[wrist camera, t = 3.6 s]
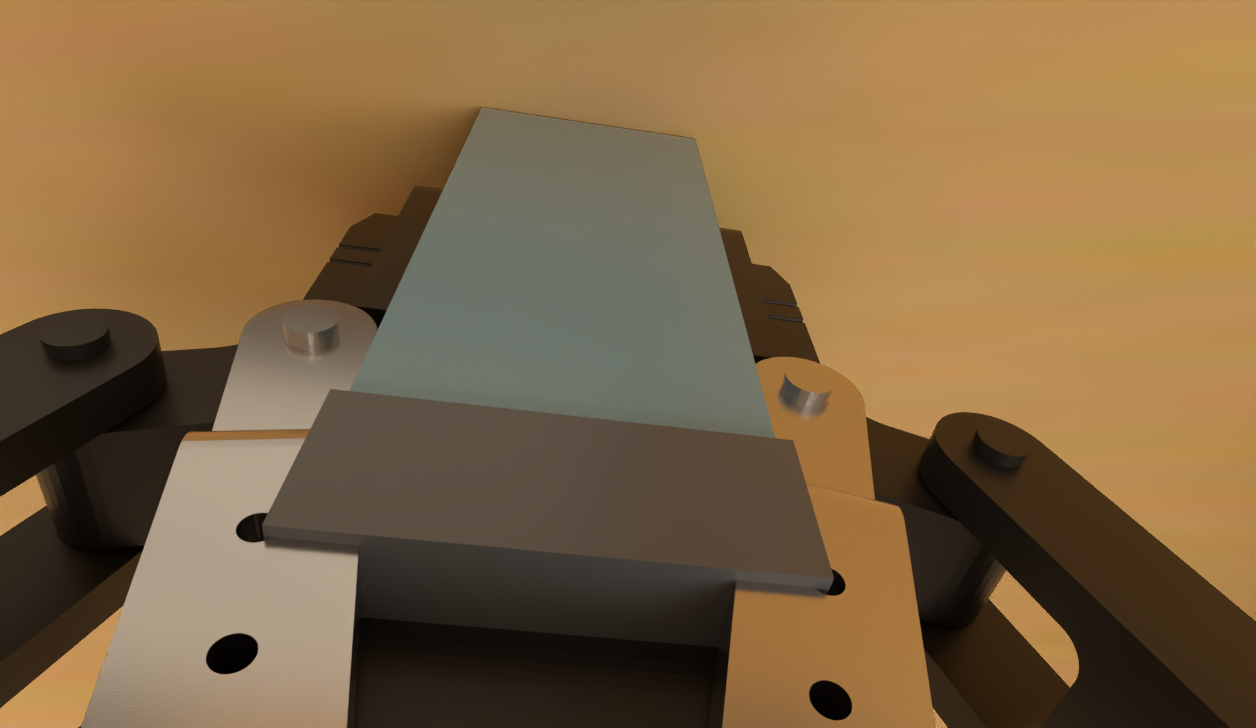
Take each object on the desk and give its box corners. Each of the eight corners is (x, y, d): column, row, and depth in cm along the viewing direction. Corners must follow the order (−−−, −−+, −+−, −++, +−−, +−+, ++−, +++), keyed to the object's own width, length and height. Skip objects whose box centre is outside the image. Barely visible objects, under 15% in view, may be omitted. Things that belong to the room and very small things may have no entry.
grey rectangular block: (702, 134, 13) (835, 579, 5) (662, 324, 15) (715, 844, 7) (475, 100, 12) (260, 526, 5) (466, 299, 14) (306, 820, 7)
